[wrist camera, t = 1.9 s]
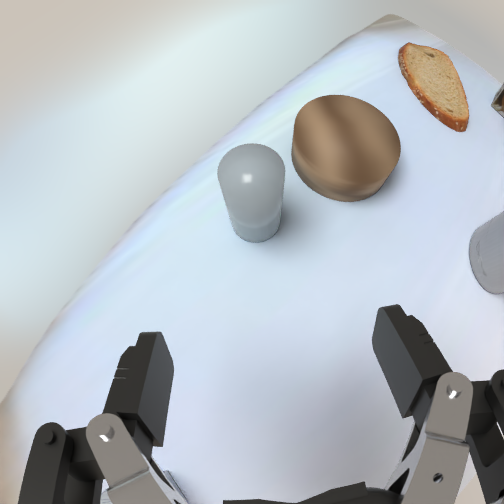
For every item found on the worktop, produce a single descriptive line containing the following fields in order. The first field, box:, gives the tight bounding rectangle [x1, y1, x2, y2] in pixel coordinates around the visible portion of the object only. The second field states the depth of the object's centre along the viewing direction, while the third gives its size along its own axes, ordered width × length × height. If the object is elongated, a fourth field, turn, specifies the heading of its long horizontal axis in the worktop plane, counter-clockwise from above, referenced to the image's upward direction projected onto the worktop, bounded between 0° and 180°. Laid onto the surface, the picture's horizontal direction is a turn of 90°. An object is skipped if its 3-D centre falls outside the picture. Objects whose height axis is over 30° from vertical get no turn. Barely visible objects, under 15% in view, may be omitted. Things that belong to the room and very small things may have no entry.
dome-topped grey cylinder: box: [218, 144, 285, 243], centre depth 28 cm, size 5×5×10 cm
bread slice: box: [398, 43, 469, 132], centre depth 37 cm, size 18×18×4 cm
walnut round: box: [291, 95, 401, 202], centre depth 32 cm, size 12×12×5 cm
